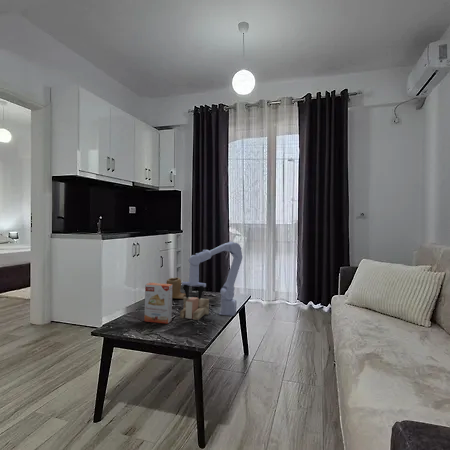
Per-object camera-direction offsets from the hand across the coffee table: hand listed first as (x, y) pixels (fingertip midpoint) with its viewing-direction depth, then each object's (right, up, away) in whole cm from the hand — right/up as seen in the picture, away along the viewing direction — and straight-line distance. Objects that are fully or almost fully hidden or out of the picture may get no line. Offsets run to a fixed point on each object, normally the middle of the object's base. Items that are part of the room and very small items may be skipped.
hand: (193, 298), depth 189 cm
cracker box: (-19, -10, -13) cm, 25 cm away
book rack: (-1, -10, -1) cm, 10 cm away
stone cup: (-17, -10, +41) cm, 45 cm away
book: (-1, -10, -1) cm, 10 cm away
